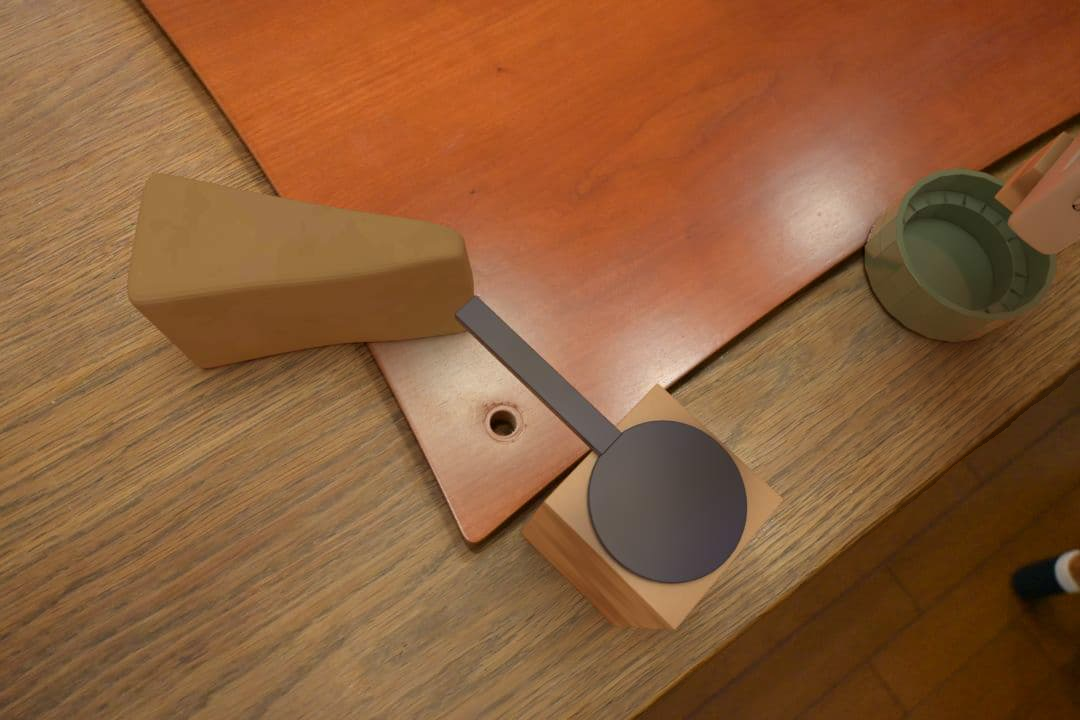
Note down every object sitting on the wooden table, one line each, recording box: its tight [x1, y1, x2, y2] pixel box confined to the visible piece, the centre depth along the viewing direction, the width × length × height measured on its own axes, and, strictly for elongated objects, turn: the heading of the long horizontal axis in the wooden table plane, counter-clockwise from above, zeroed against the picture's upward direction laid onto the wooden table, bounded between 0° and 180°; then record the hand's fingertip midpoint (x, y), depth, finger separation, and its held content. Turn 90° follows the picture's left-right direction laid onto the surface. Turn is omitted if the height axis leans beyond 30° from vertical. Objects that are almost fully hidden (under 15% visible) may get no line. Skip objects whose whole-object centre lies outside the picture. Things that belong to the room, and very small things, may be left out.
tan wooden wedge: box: [126, 172, 475, 369], centre depth 58 cm, size 22×10×15 cm, turn 91°
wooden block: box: [995, 131, 1075, 212], centre depth 58 cm, size 4×4×4 cm
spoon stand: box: [455, 294, 785, 631], centre depth 54 cm, size 21×10×19 cm, turn 47°
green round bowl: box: [864, 167, 1058, 343], centre depth 69 cm, size 14×14×6 cm
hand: (1044, 190), depth 59 cm, fingers closed on wooden block, 4 cm apart
